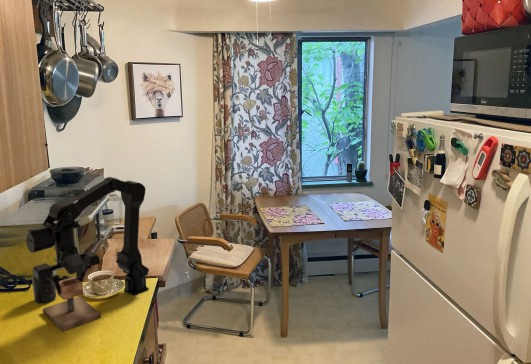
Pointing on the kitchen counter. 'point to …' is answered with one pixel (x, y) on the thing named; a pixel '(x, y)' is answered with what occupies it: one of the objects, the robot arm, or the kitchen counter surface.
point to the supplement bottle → (43, 290)
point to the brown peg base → (71, 313)
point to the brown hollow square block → (70, 288)
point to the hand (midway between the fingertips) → (69, 290)
